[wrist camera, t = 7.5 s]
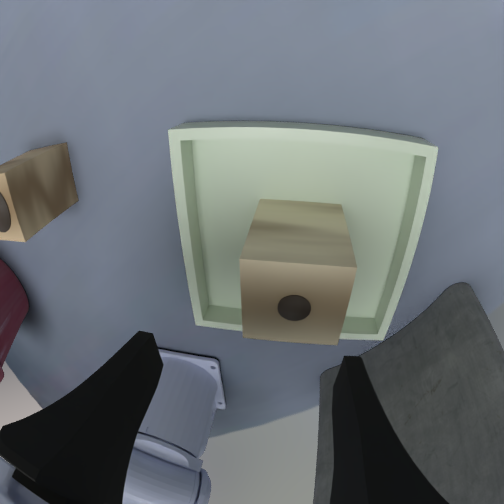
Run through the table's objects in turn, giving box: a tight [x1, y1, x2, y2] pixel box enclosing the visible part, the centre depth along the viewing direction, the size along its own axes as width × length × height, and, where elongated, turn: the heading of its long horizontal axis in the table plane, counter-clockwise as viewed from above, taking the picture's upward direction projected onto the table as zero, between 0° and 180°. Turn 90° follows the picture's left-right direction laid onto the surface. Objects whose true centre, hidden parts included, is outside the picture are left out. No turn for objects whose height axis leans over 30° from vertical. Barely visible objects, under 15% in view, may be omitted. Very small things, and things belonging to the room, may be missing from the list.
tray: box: [168, 121, 438, 340], centre depth 17 cm, size 13×13×2 cm
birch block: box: [239, 199, 357, 345], centre depth 15 cm, size 4×4×6 cm
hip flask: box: [313, 283, 504, 504], centre depth 14 cm, size 16×4×20 cm, turn 143°
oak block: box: [0, 143, 79, 242], centre depth 16 cm, size 4×4×6 cm
